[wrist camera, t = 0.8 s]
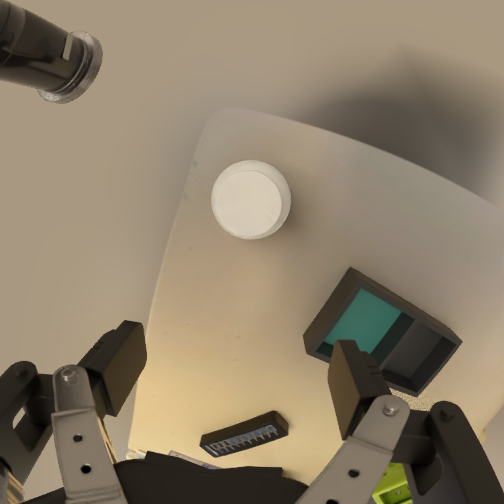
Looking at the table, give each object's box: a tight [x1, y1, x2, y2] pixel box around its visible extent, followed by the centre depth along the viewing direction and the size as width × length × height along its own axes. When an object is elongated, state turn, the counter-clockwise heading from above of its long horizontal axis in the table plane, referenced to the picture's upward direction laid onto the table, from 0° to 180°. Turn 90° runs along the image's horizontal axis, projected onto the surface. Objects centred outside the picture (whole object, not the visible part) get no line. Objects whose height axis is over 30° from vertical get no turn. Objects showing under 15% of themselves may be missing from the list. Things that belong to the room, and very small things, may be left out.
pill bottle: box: [211, 160, 291, 239], centre depth 25 cm, size 6×6×12 cm
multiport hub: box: [199, 411, 288, 458], centre depth 40 cm, size 4×14×2 cm, turn 123°
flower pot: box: [372, 463, 412, 504], centre depth 35 cm, size 14×14×13 cm
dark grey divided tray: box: [303, 267, 463, 397], centre depth 33 cm, size 20×10×4 cm, turn 62°
